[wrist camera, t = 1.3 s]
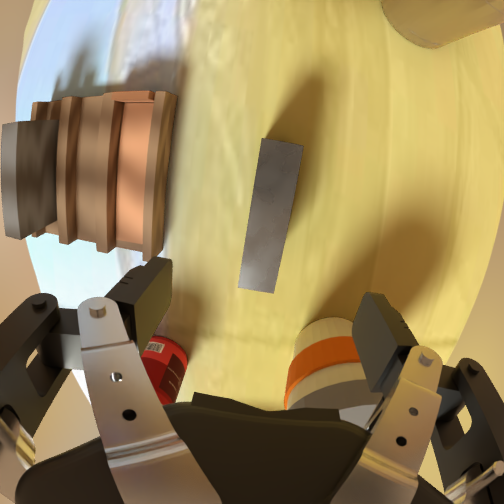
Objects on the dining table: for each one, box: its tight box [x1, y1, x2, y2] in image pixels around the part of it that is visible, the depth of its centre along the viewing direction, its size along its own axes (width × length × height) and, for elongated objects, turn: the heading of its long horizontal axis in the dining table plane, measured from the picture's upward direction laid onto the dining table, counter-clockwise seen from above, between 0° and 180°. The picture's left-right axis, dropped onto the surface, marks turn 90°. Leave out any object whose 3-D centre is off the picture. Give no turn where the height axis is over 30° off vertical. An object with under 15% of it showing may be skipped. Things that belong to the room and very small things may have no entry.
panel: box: [238, 138, 304, 294], centre depth 25 cm, size 12×3×8 cm, turn 171°
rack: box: [1, 91, 178, 262], centre depth 24 cm, size 17×18×10 cm
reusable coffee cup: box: [284, 317, 383, 428], centre depth 28 cm, size 13×13×15 cm
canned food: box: [141, 336, 187, 406], centre depth 33 cm, size 8×8×11 cm
